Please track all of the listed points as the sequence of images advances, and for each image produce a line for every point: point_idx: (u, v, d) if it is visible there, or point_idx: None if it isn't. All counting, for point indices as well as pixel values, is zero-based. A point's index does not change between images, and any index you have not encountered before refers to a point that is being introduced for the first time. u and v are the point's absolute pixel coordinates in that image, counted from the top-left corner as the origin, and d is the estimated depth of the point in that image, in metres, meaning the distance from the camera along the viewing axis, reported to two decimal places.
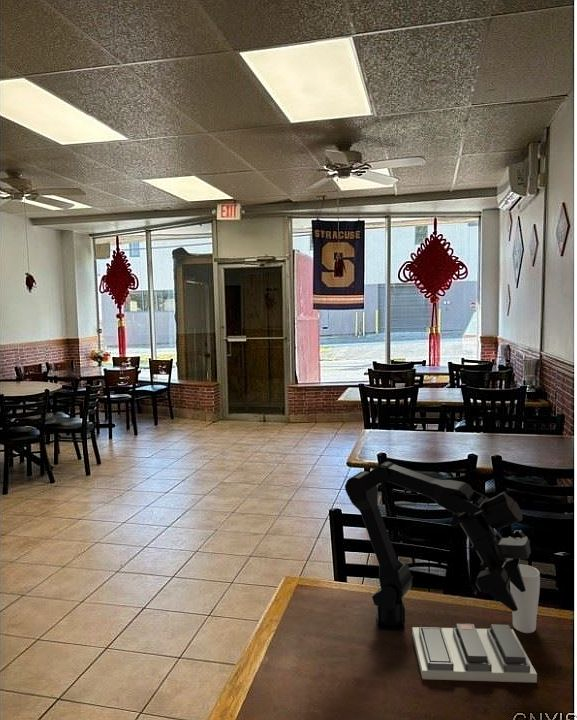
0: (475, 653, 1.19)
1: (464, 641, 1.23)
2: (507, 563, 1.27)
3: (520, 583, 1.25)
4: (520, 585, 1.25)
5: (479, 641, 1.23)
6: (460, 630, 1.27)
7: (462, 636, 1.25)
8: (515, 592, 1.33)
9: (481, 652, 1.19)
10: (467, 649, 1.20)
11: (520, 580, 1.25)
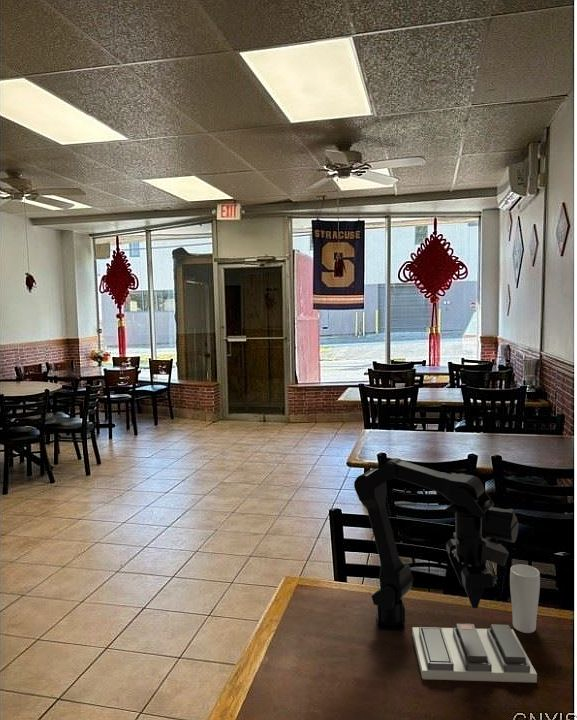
0: (475, 653, 1.19)
1: (464, 641, 1.23)
2: None
3: None
4: None
5: (479, 641, 1.23)
6: (460, 630, 1.27)
7: (462, 636, 1.25)
8: (515, 592, 1.33)
9: (481, 652, 1.19)
10: (467, 649, 1.20)
11: None
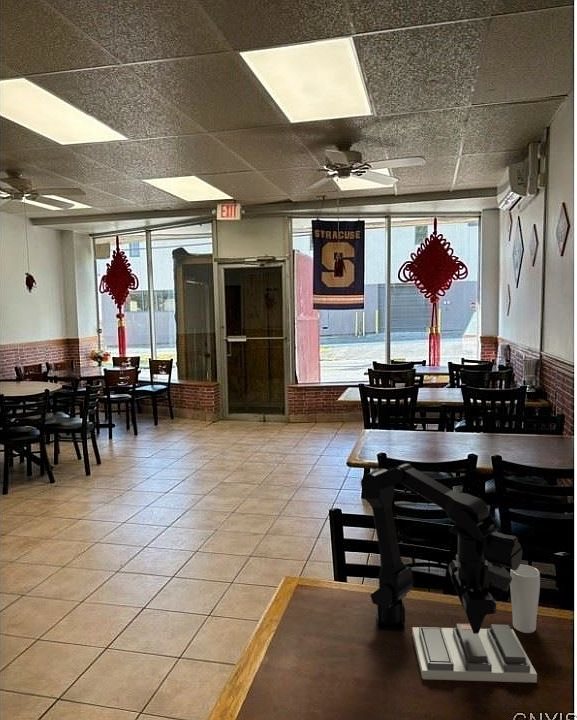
0: (475, 653, 1.19)
1: (464, 641, 1.23)
2: None
3: None
4: None
5: (479, 641, 1.23)
6: (460, 630, 1.27)
7: (462, 636, 1.25)
8: (515, 592, 1.33)
9: (481, 652, 1.19)
10: (467, 649, 1.20)
11: None
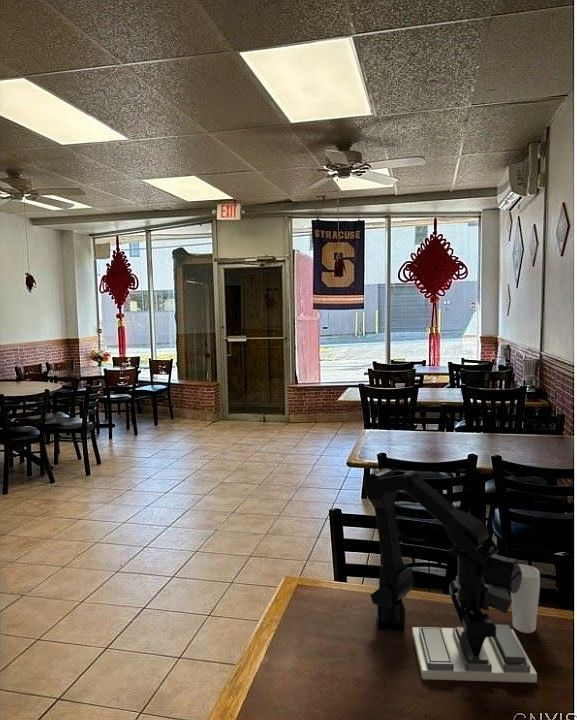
0: (475, 657, 1.19)
1: (464, 645, 1.23)
2: None
3: None
4: None
5: None
6: (460, 633, 1.28)
7: (462, 639, 1.25)
8: None
9: (481, 656, 1.19)
10: (467, 653, 1.21)
11: None
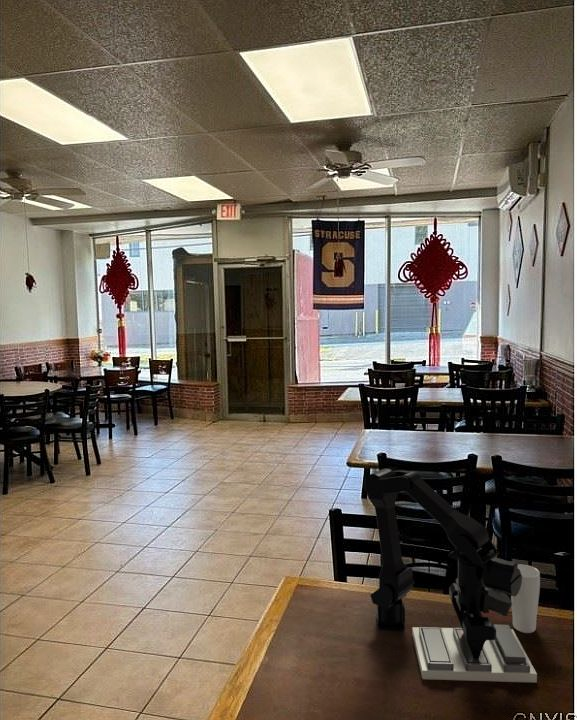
0: (475, 659, 1.19)
1: (464, 647, 1.23)
2: None
3: None
4: None
5: None
6: (460, 636, 1.28)
7: (462, 642, 1.25)
8: None
9: (481, 658, 1.19)
10: (467, 655, 1.21)
11: None
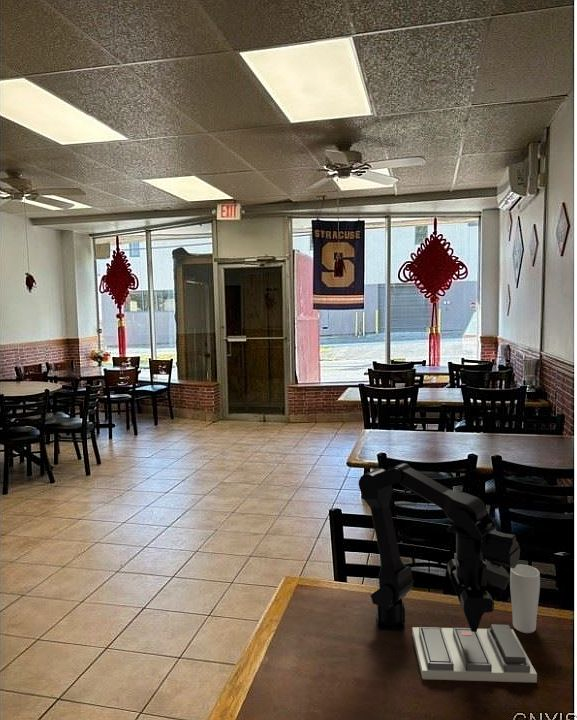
0: (475, 659, 1.19)
1: (464, 647, 1.23)
2: None
3: None
4: None
5: (479, 647, 1.23)
6: (460, 636, 1.28)
7: (462, 642, 1.25)
8: (515, 592, 1.33)
9: (481, 658, 1.19)
10: (467, 655, 1.21)
11: None
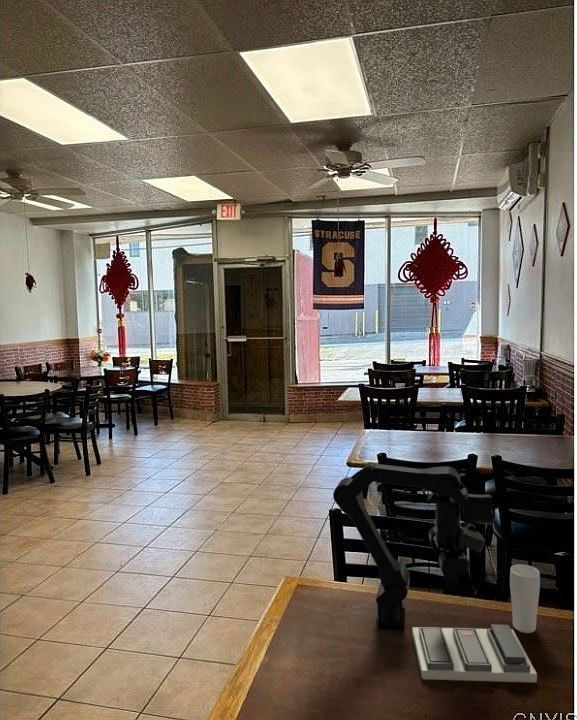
0: (475, 659, 1.19)
1: (464, 647, 1.23)
2: None
3: None
4: None
5: (479, 647, 1.23)
6: (460, 636, 1.28)
7: (462, 642, 1.25)
8: (515, 592, 1.33)
9: (481, 658, 1.19)
10: (467, 655, 1.21)
11: None
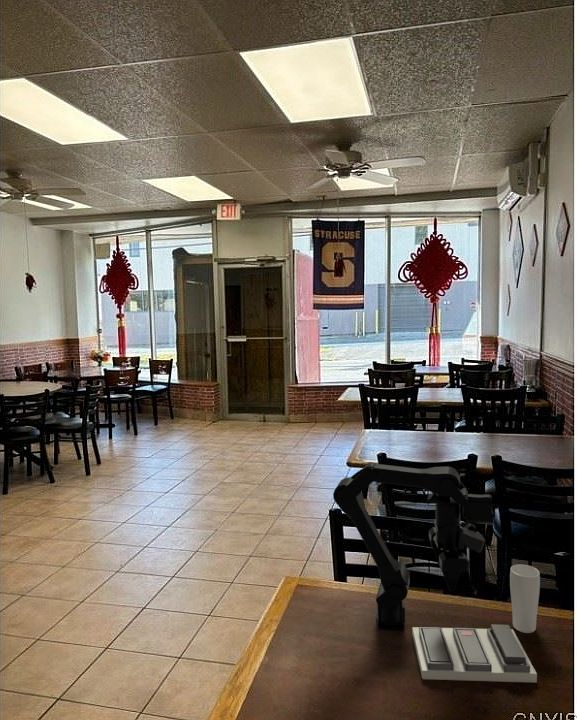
0: (475, 659, 1.19)
1: (464, 647, 1.23)
2: None
3: None
4: None
5: (479, 647, 1.23)
6: (460, 636, 1.28)
7: (462, 642, 1.25)
8: (515, 592, 1.33)
9: (481, 658, 1.19)
10: (467, 655, 1.21)
11: None
